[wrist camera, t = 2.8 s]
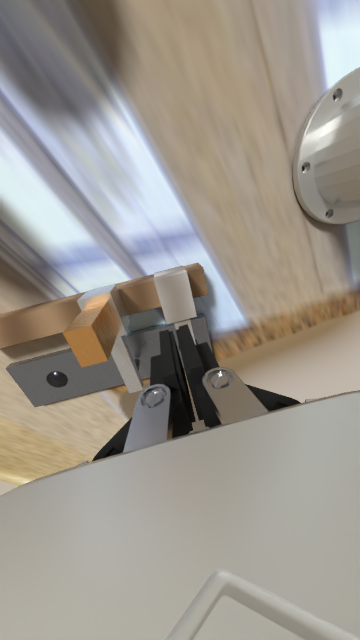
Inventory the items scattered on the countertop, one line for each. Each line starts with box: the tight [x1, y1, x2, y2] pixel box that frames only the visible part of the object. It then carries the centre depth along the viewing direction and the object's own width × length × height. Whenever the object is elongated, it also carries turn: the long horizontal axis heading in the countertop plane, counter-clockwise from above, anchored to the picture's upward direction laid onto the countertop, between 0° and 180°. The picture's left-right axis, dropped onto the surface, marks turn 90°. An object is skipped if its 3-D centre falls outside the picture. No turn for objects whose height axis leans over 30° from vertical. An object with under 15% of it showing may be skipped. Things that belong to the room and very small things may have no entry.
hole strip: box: [6, 314, 213, 407], centre depth 28 cm, size 26×7×1 cm, turn 104°
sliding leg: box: [63, 284, 144, 393], centre depth 20 cm, size 3×12×10 cm, turn 14°
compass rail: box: [0, 263, 208, 348], centre depth 23 cm, size 27×12×6 cm, turn 104°
